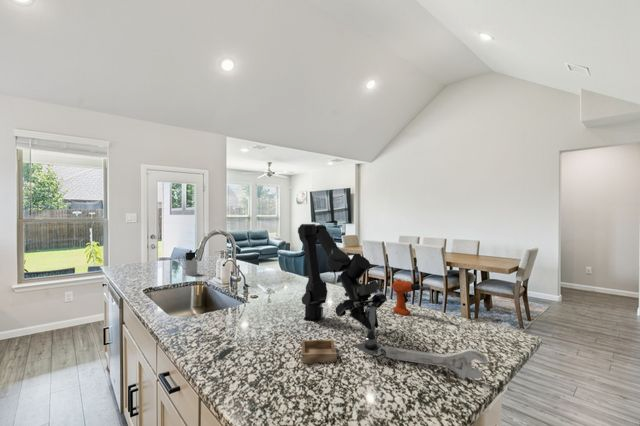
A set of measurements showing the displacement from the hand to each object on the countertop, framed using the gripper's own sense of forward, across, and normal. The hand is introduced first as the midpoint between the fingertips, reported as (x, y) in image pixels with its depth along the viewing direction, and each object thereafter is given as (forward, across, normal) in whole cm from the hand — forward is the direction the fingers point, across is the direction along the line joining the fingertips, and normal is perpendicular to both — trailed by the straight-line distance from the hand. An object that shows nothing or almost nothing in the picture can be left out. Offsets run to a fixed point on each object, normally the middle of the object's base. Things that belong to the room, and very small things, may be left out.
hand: (374, 328), depth 99 cm
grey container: (-107, -25, +118) cm, 161 cm away
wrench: (+17, +5, -7) cm, 19 cm away
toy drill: (-7, +38, +17) cm, 42 cm away
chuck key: (+4, 0, +6) cm, 7 cm away
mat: (+4, 0, +6) cm, 7 cm away
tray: (0, -17, +10) cm, 19 cm away
